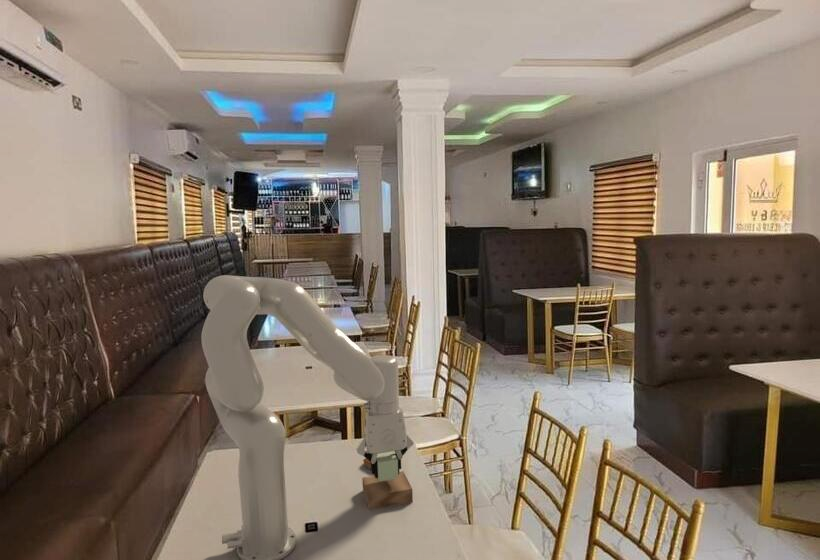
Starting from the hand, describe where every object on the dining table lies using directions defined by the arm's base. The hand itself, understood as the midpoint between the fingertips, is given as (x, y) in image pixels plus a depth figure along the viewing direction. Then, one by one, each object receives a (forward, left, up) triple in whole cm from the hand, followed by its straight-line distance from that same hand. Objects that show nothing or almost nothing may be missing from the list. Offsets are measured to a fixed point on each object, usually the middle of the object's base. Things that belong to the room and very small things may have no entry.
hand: (386, 473), depth 137 cm
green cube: (0, 0, -1) cm, 1 cm away
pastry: (+2, +15, -7) cm, 17 cm away
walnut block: (0, 0, -7) cm, 7 cm away
